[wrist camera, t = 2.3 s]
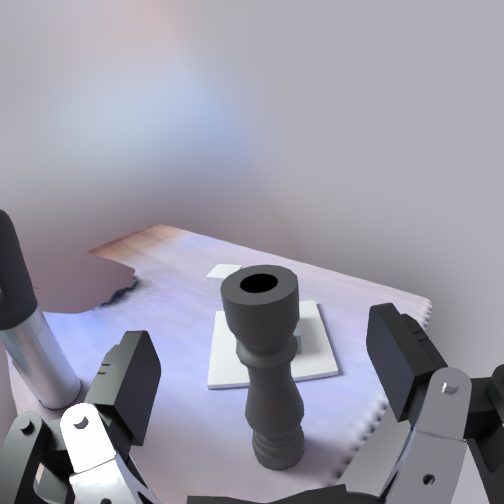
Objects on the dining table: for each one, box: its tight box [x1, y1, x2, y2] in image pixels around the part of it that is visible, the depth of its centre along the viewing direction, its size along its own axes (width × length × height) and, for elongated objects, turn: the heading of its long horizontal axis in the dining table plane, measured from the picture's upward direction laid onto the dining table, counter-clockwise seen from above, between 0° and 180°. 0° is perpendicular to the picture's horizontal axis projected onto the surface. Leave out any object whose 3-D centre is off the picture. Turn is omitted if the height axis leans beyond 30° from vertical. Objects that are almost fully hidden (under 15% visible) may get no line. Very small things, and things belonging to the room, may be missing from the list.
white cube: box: [206, 264, 243, 301], centre depth 68 cm, size 6×6×6 cm
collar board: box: [207, 300, 338, 389], centre depth 51 cm, size 20×20×5 cm
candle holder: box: [220, 265, 304, 470], centre depth 27 cm, size 6×6×25 cm
